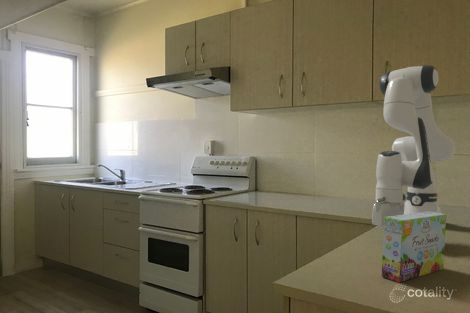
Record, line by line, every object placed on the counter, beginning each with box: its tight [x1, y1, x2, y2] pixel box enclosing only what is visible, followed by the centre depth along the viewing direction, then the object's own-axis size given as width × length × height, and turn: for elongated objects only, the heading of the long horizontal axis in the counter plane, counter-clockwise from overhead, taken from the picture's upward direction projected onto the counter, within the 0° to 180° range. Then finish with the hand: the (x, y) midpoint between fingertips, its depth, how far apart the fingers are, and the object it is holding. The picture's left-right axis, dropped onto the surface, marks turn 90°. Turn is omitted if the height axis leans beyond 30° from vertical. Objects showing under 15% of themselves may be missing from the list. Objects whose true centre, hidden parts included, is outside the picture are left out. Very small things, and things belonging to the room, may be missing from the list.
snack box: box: [381, 212, 447, 283], centre depth 97 cm, size 21×6×15 cm, turn 126°
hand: (387, 235), depth 135 cm, fingers closed
